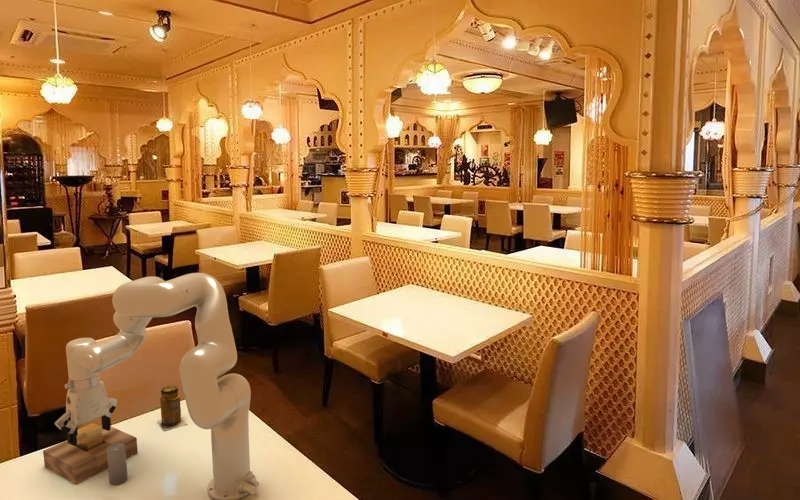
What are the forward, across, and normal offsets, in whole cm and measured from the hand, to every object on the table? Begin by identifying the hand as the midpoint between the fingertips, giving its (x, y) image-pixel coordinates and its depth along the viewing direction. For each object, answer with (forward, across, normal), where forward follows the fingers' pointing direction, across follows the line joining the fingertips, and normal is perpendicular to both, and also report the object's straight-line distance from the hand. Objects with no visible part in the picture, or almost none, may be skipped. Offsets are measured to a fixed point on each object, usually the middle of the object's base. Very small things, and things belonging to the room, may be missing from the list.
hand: (90, 436), depth 152 cm
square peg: (+7, 0, 0) cm, 7 cm away
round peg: (+7, -2, -16) cm, 18 cm away
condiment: (+8, +26, -1) cm, 27 cm away
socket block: (+7, 0, 0) cm, 7 cm away
